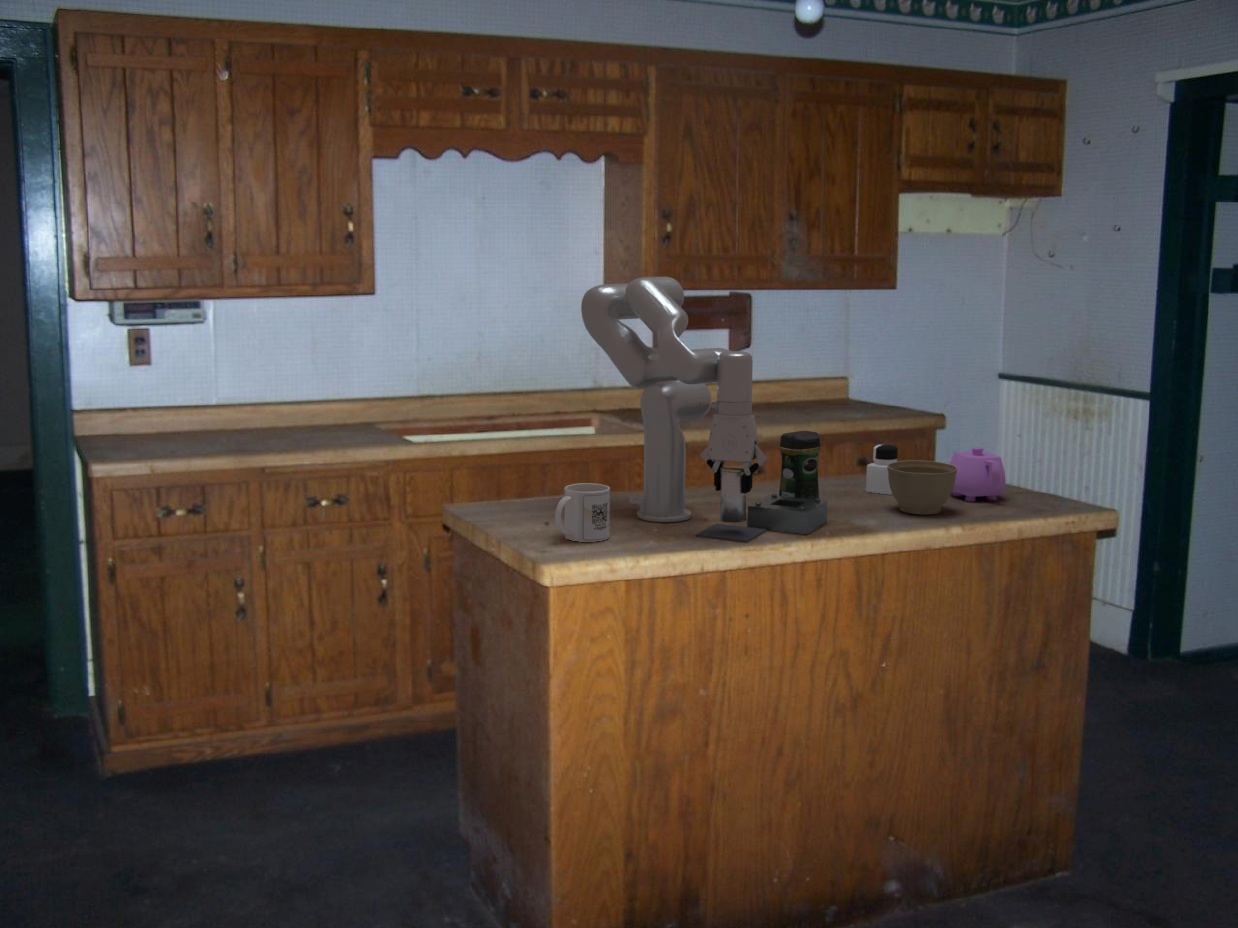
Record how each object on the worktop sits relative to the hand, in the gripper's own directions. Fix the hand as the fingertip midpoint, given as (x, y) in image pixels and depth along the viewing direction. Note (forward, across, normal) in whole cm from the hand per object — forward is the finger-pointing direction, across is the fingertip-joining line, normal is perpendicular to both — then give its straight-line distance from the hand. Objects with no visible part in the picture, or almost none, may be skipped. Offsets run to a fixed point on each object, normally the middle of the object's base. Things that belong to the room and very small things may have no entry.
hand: (733, 490), depth 280 cm
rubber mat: (+10, 0, 0) cm, 10 cm away
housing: (+10, +8, +14) cm, 19 cm away
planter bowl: (+10, +31, +43) cm, 54 cm away
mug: (+10, -27, -19) cm, 35 cm away
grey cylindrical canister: (+7, 0, 0) cm, 7 cm away
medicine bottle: (+10, +17, +62) cm, 65 cm away
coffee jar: (+10, +4, +33) cm, 35 cm away
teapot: (+10, +39, +66) cm, 77 cm away
